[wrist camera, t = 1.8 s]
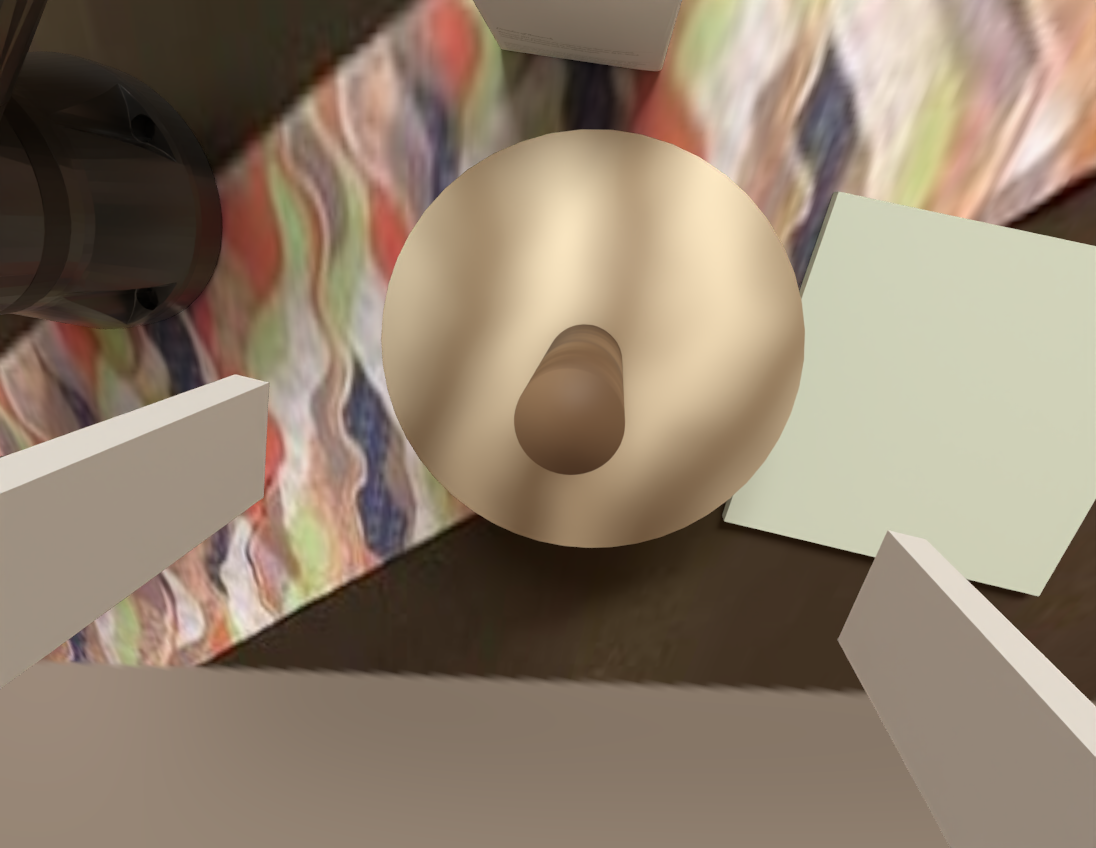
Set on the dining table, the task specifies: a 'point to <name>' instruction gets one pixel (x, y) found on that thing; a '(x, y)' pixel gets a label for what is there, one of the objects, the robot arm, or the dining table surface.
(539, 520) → the lid
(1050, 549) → the mat
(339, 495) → the dining table surface
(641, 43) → the supplement box
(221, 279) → the dining table surface
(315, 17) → the dining table surface
